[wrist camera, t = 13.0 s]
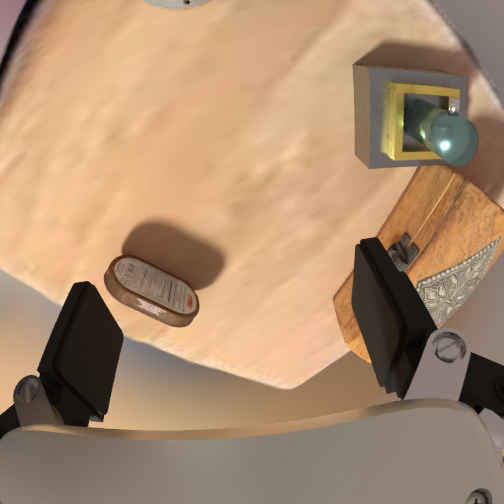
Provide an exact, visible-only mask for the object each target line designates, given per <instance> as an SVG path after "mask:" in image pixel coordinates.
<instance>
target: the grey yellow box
mask: <svg viewBox="0 0 504 504" xmlns="http://www.w3.org/2000/svg"><path fill="white" fill-rule="evenodd" d="M353 77H354V103H355V155H356V156H357V157H358V158H359V159H360V160H361V161H362V162H363V163H364V164H365V165H366V166H367V167H368V168H369V169H374V168H390V167H409V166H435V165H451V164H449V163H448V162H446V161H445V160H444V159H442V158H441V157H440V156H438V155H437V154H435V153H434V152H433V151H431V150H430V149H428V148H427V147H426V146H424V145H423V144H421V143H420V142H418V141H417V140H415V139H414V138H412V137H411V136H410V135H409V134H408V132H407V131H406V128H405V123H404V119H405V114H406V112H407V110H408V108H409V107H410V106H411V105H412V104H413V103H415V102H417V101H427V102H429V103H432V104H434V105H436V106H438V107H441V108H443V109H445V110H447V111H448V104H449V96H452V97H457V98H459V99H460V108H459V116H460V117H462V118H464V119H466V120H468V116H467V113H466V104H467V81H468V78H466V77H463V76H459V75H456V74H452V73H448V72H443V71H436V70H428V69H419V68H409V67H396V66H380V65H353Z"/></svg>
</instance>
